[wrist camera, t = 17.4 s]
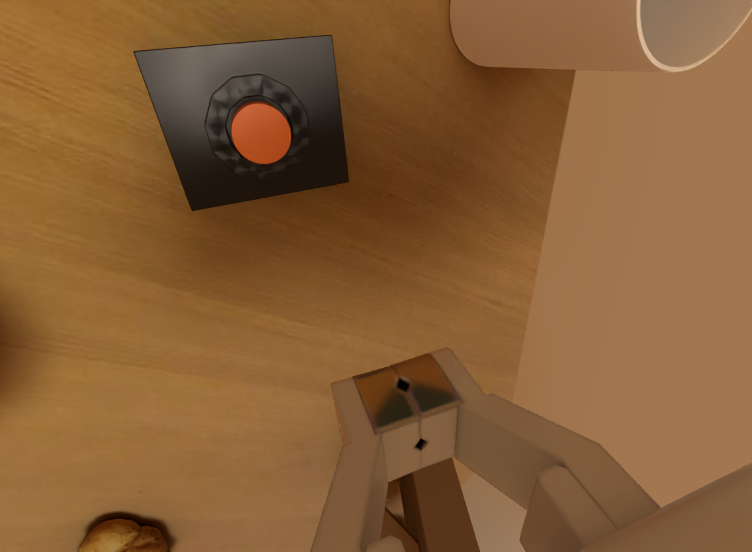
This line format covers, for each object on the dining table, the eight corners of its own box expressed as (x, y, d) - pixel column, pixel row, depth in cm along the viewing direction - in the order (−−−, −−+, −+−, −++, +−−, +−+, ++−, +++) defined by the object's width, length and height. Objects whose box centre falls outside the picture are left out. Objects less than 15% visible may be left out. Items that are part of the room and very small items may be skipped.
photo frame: (426, 377, 48) (569, 608, 28) (423, 472, 60) (523, 685, 39) (315, 412, 45) (389, 708, 24) (334, 505, 56) (395, 760, 36)
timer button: (281, 97, 24) (284, 99, 22) (292, 153, 26) (296, 159, 24) (223, 104, 23) (223, 107, 22) (239, 162, 25) (240, 168, 24)
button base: (324, 36, 26) (338, 33, 23) (342, 175, 31) (355, 188, 28) (140, 51, 23) (125, 50, 20) (194, 201, 29) (189, 220, 25)
